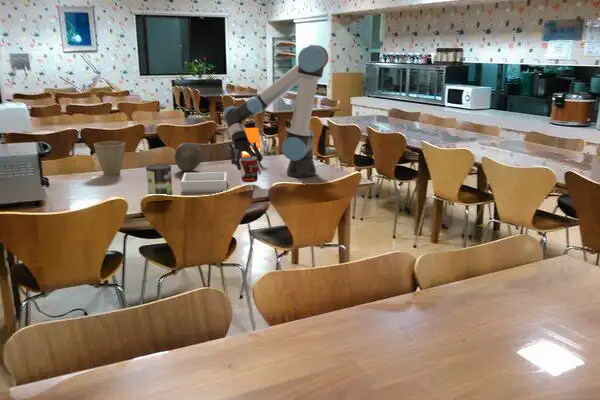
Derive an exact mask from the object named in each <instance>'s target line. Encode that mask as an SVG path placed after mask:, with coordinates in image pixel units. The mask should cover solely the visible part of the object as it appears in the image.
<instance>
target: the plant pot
mask: <svg viewBox="0 0 600 400" xmlns="http://www.w3.org/2000/svg"><path fill="white" fill-rule="evenodd" d="M93 146H94V151H95V155H96V157H97V161H98V164H99V166H100V169H101V170H102V172H103V175H104V176H108V177H112V176H113V177H114V176H119V175H120V174H121V171H122V167H123V162H124V157H125V152H126V151H125V150H126V142H124V141H117V140H116V141H115V140H114V141H113V140H111V141H100V142H95V143H93Z"/></svg>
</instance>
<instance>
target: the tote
mask: <svg viewBox="0 0 600 400" xmlns="http://www.w3.org/2000/svg"><path fill="white" fill-rule="evenodd" d="M227 174H228V173H227V171H212V172H211V171H210V172H209V171H204V172H201V171H200V172H184V173H183V175H182V178H181V181H180V185H181V186H180V187H181V189H180V190H181V193H218V192H220V191H224V190H228V175H227Z"/></svg>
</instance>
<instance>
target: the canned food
mask: <svg viewBox="0 0 600 400" xmlns="http://www.w3.org/2000/svg"><path fill="white" fill-rule="evenodd" d="M240 162H241V163H242V166H243V169H244V172H245V175H244V177H242V175H241V177H240V178H241V181H242V182H243V183H249V184H251V183H256V182H258V178H259V177H258V176H259V173H258V171H257V157H254V156H246V157H242V156H241V157H240Z"/></svg>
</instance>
